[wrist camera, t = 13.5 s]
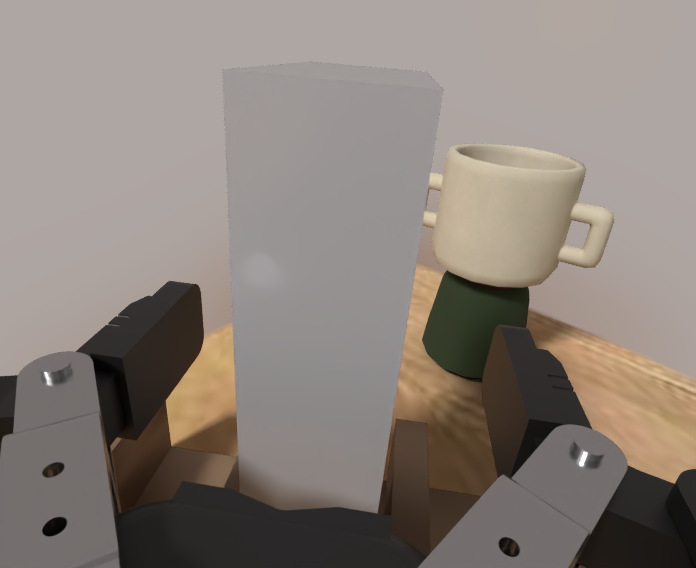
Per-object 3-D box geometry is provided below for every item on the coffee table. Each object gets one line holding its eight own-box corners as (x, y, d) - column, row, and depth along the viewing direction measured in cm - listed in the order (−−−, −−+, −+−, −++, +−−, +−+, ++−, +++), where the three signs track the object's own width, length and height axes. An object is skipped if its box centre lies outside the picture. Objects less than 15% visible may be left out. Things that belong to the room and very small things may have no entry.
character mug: (565, 361, 31) (634, 164, 25) (543, 424, 25) (625, 189, 20) (415, 309, 36) (443, 133, 30) (369, 352, 30) (393, 146, 24)
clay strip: (294, 508, 18) (311, 61, 11) (365, 519, 18) (427, 72, 11) (248, 693, 13) (222, 69, 6) (346, 712, 13) (443, 89, 6)
